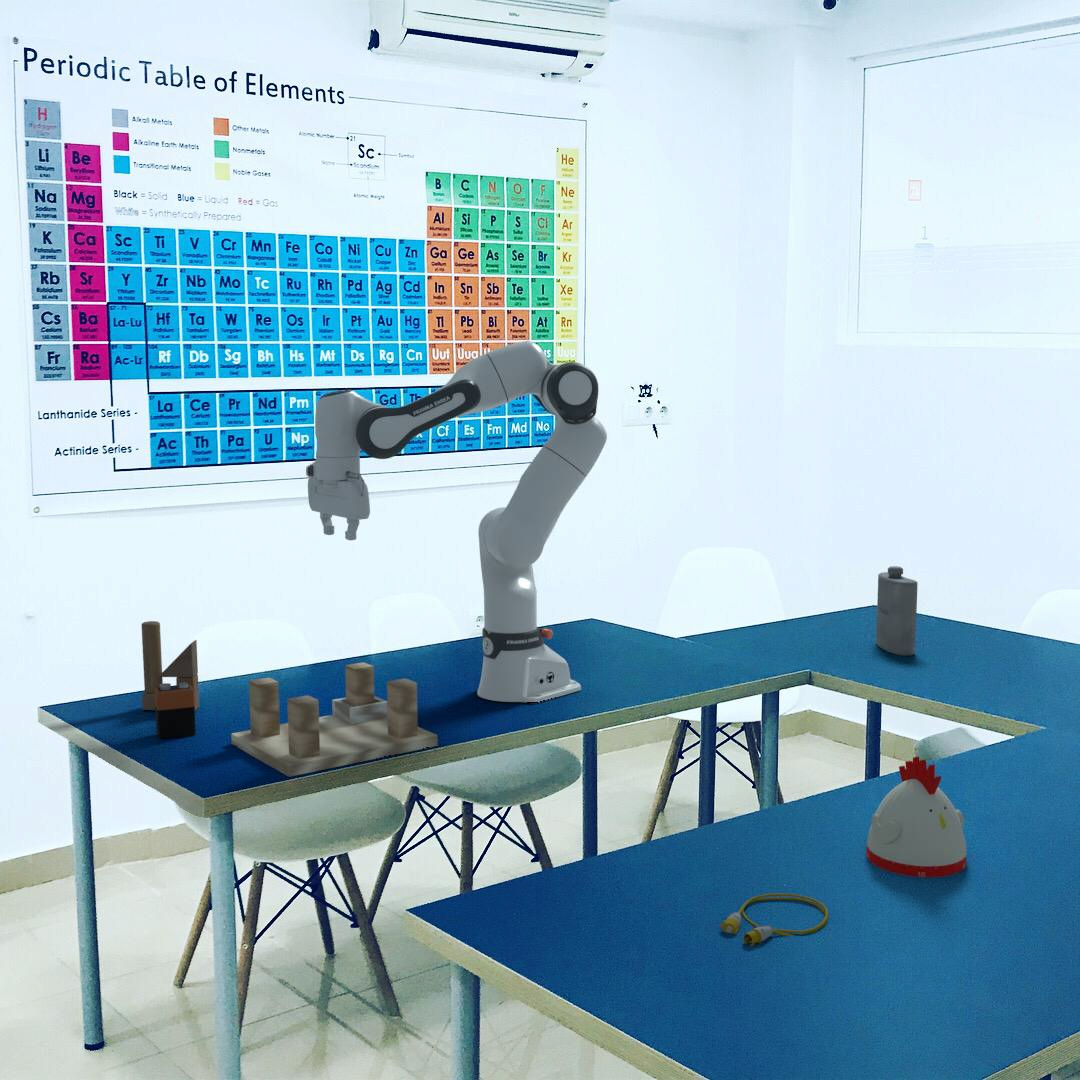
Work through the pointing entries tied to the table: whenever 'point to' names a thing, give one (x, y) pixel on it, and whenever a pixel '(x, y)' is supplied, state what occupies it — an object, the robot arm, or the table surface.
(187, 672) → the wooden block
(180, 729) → the battery
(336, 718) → the stone peg stand
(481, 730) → the table surface
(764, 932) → the extension cord
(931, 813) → the kitchen timer
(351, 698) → the oak leg
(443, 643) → the table surface
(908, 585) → the flask
